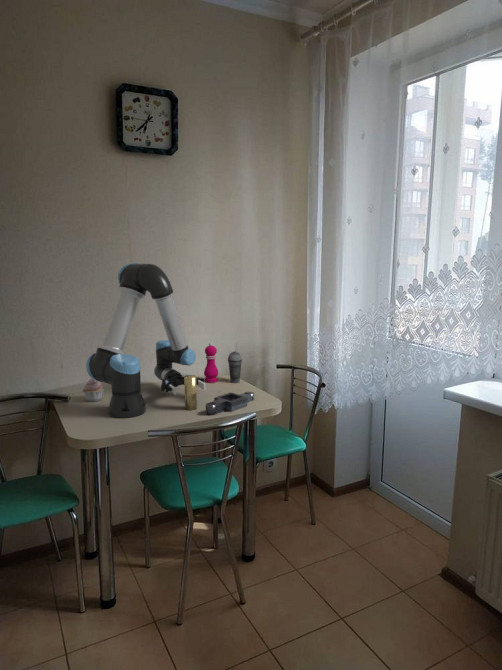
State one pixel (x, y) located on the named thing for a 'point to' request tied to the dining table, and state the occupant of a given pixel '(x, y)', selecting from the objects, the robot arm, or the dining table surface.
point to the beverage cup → (235, 366)
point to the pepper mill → (211, 364)
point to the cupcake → (93, 390)
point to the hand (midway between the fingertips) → (190, 389)
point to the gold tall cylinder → (190, 392)
